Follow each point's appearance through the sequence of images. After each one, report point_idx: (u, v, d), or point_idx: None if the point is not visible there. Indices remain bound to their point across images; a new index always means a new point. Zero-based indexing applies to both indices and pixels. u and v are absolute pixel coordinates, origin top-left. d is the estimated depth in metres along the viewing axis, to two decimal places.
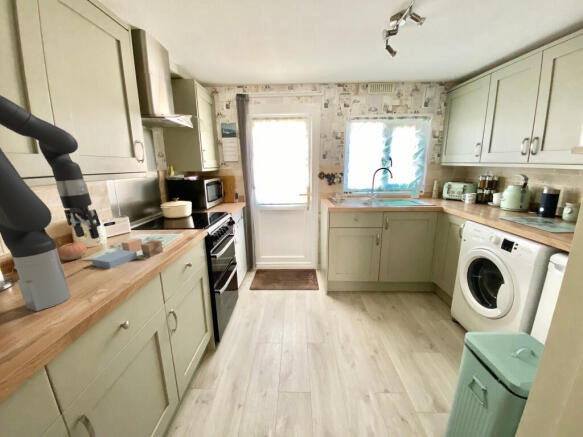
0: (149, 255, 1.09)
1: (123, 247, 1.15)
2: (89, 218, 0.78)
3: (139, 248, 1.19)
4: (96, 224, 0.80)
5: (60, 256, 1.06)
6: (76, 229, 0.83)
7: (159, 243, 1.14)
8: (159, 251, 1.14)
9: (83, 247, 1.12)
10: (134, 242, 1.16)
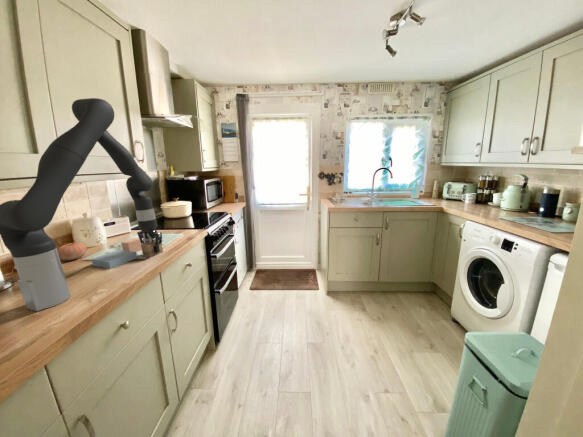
0: (149, 255, 1.09)
1: (123, 247, 1.15)
2: (156, 238, 1.08)
3: (139, 248, 1.19)
4: (159, 243, 1.10)
5: (60, 256, 1.06)
6: None
7: None
8: (159, 251, 1.14)
9: (83, 247, 1.12)
10: (134, 242, 1.16)
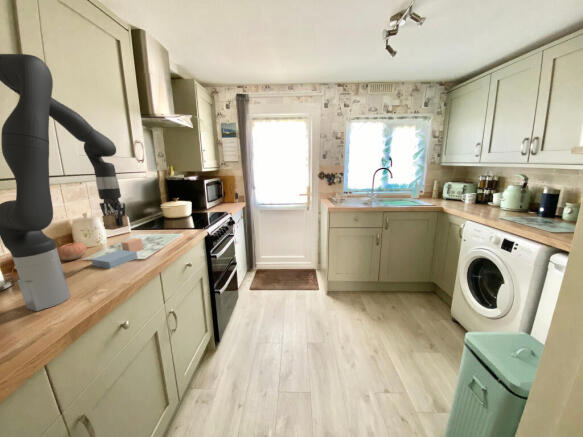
0: (110, 227, 0.99)
1: (123, 247, 1.15)
2: (118, 209, 0.98)
3: (139, 248, 1.19)
4: (122, 214, 1.00)
5: (60, 256, 1.06)
6: None
7: (123, 216, 1.03)
8: (123, 224, 1.04)
9: (83, 247, 1.12)
10: (134, 242, 1.16)
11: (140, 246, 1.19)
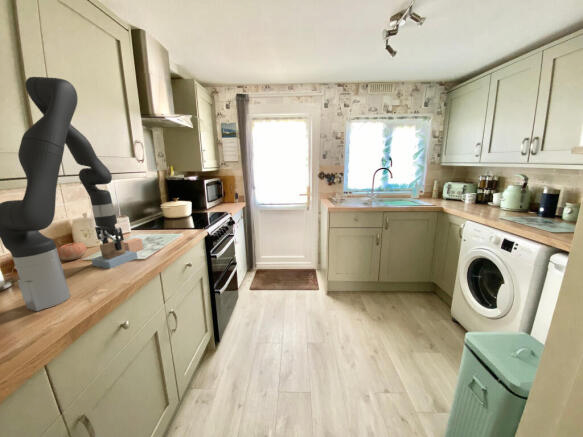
0: (108, 257, 1.01)
1: None
2: (116, 234, 0.99)
3: (139, 248, 1.19)
4: (120, 239, 1.01)
5: (60, 256, 1.06)
6: (104, 242, 1.04)
7: (121, 244, 1.05)
8: (121, 252, 1.05)
9: (83, 247, 1.12)
10: (134, 242, 1.16)
11: (140, 246, 1.19)
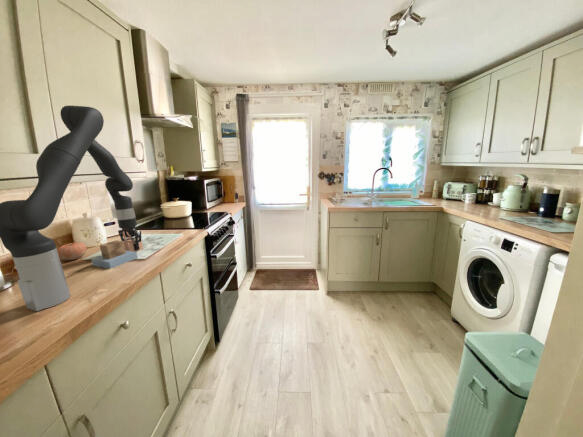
0: (108, 257, 1.01)
1: None
2: (136, 236, 1.13)
3: (139, 248, 1.19)
4: (138, 240, 1.15)
5: (60, 256, 1.06)
6: None
7: (121, 244, 1.05)
8: (121, 252, 1.05)
9: (83, 247, 1.12)
10: None
11: (140, 246, 1.19)
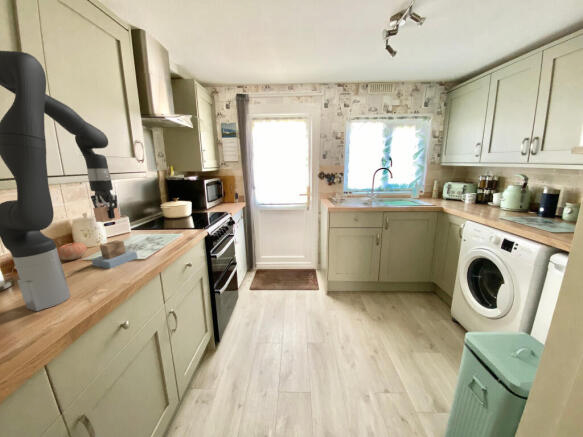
0: (108, 257, 1.01)
1: (95, 214, 0.99)
2: (110, 201, 0.98)
3: (115, 216, 1.03)
4: (113, 206, 1.00)
5: (60, 256, 1.06)
6: None
7: (121, 244, 1.05)
8: (121, 252, 1.05)
9: (83, 247, 1.12)
10: None
11: (116, 214, 1.04)
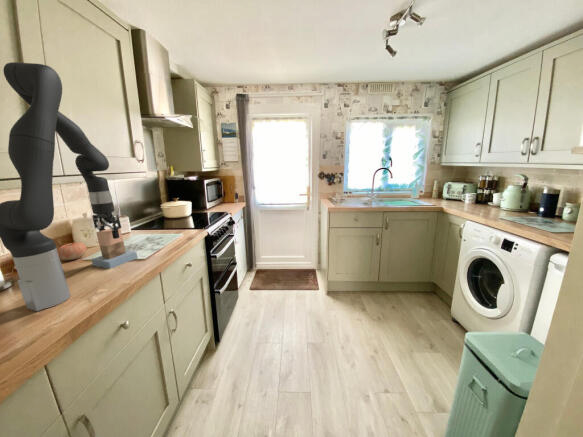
0: (108, 257, 1.01)
1: (98, 238, 1.00)
2: (113, 222, 0.98)
3: (118, 239, 1.04)
4: (118, 227, 0.99)
5: (60, 256, 1.06)
6: None
7: (121, 244, 1.05)
8: (121, 252, 1.05)
9: (83, 247, 1.12)
10: (111, 232, 1.01)
11: (119, 237, 1.04)
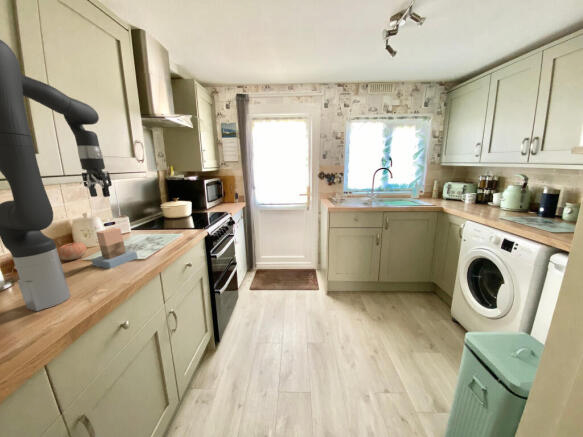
0: (108, 257, 1.01)
1: (98, 238, 1.00)
2: (103, 178, 0.94)
3: (118, 239, 1.04)
4: (108, 184, 0.95)
5: (60, 256, 1.06)
6: (90, 189, 0.99)
7: (121, 244, 1.05)
8: (121, 252, 1.05)
9: (83, 247, 1.12)
10: (111, 232, 1.01)
11: (119, 237, 1.04)
